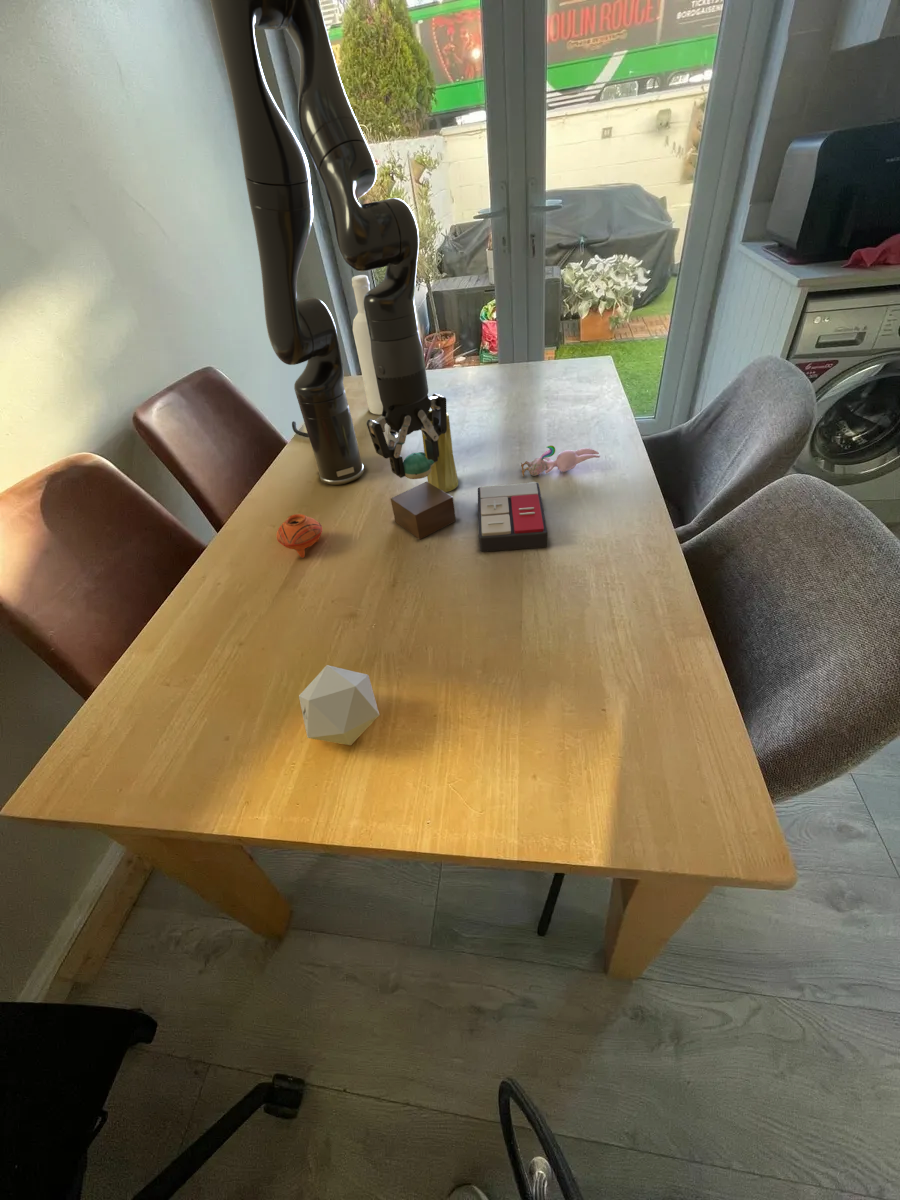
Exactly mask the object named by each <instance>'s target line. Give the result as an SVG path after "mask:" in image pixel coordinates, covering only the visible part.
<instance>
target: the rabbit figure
mask: <svg viewBox="0 0 900 1200" xmlns="http://www.w3.org/2000/svg"><path fill="white" fill-rule="evenodd" d="M546 448H547V449H548V450H546V451H544V452H543V454H542V455H540V457H537V458H534V459H533V460H531V461H528V460H526V461H524V463H522V462H520V464H521V465H520V468H521V475H522V477H523V478H524V477H525V473H526V471H527V472H528V473H529V474H530V476H533V477H536V476H538V475H540V474H542V473H543V472H544V473H545V474H548V473H549V472H551V471H552V470H553V469H554V468H557V470H558V471H560V472H561V473H565V472H568V471H569V470H573V469H574V468H575V467H576V466H577V465H578V464H580V463H583V462H584V461H586V460H589V459H593V458H596V459H597V458H601V455H599V454H600V452H598V451H597V450H595V449H593V448H589V447H583V448H579V449H576V450H571V449H566V450H563V451H561V452H559V453H558V455H557V456H556V459H555V460H553V459H551V458H550V457H552V456H554V455H555V454H556V447H555V446H554V445H548V446H546ZM525 465H526V466H527V467H526V468H524V467H525Z"/></svg>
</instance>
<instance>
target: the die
mask: <svg viewBox="0 0 900 1200" xmlns="http://www.w3.org/2000/svg"><path fill="white" fill-rule="evenodd" d="M298 698H299V699H298V700H299V703H300V709H301V714H302V718H303V723H304V728H305V732H306V737H307V739H311V740H317V741H322V742H329V743H335V744H340V745H346V746H352V745H353V744H354V743H355V742H356V740H358V739H359V738H360V736H361V735H363V733H364V732H365V731H366V730H367V729H368V728H369V727H370V726H371V725H372V724H373V723H374V722H375V721H376V720H377V719H378V717H380V711H379V707H378V704H377V701H376V696H375V693H374V690H373V686H372V682H371V678H370V676H369V674H366V673H362V672H358V671H354V670H350V669H346V668H343V667H342V668H341V667H338V666H333V665H329V664H326V665H325V666H324V667H323V668H322V670H321V671H320V672H319V673H318V674H317V675H316V676H315V677H314V679H313V680H312V681H311V682H310V683H309V684H308V685H307V686H306V687H305V688H304V689H303V691H301V693H300V694H299V695H298Z"/></svg>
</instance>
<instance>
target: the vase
mask: <svg viewBox="0 0 900 1200" xmlns="http://www.w3.org/2000/svg"><path fill="white" fill-rule="evenodd" d="M427 418H428V419H429V421H430V422H431V423H432V409H431V410H429V413H428V415H427ZM450 423H451V422H450V415H449V413H448V412H447V431H446V433H444V434H441V435H440V436H439V438H438V449H439V457H438V461H437V462H434V465H433V466H432V467H431V472H430V474H429V475H428V476H426V478H427V482H428V483H430V484H432V485H434V486H435V487H437V488H439V489H440V490H442V491H444V492H445V493H448V492H452V491H453V490H455V489H456V488H457V487H458V486H459V479H458V473H457V468H456V463H455V458H454V451H453V441H452V432H451V424H450ZM421 436H422V437H421V438H422V445H423V453H425V454H426V458H427V452H426V446H425V439H426V437H425V436H424V434H423V433H422V432H421ZM427 459H428V458H427Z"/></svg>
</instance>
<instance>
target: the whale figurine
mask: <svg viewBox="0 0 900 1200" xmlns="http://www.w3.org/2000/svg"><path fill="white" fill-rule="evenodd" d="M403 465H404V471H405V476H404V477H405V478H406V479H410V480H418V479H424V478H427V476H428V475H429V474H430V472H431V467H432V466H433V465H434V461H433V460H431V459H430V460H428V459H427V458H426V454H425V453H424V451H423V452H422V451H419V452H418V451H417V452H412V453H411V454H409V455H407V456H406V457H405V458H404V459H403Z"/></svg>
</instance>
